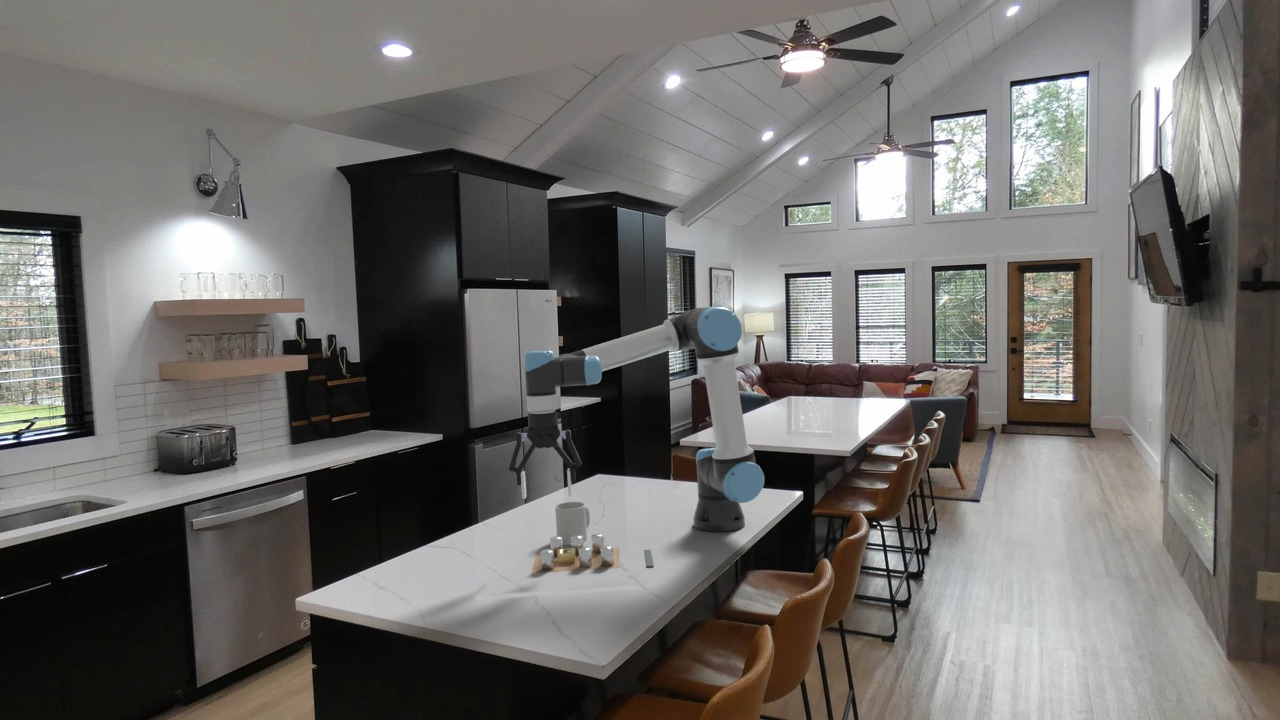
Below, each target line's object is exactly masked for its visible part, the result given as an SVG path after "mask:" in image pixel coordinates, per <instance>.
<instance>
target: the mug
mask: <svg viewBox="0 0 1280 720" xmlns="http://www.w3.org/2000/svg"><path fill="white" fill-rule="evenodd" d="M554 512H555V523H556V524H555V525H556V536H561V537H562V544H563V546H571V536H573V535H582V536H583V544H584V543H586V542H588V528H589V525H590V521H591V515H590V511H589V508H588V507H587V506H586V504H585V503H584V502H581V501H569V502H568V501H567V502H562V503H559V504H557V505H555V511H554Z"/></svg>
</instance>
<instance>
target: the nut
mask: <svg viewBox="0 0 1280 720" xmlns="http://www.w3.org/2000/svg"><path fill="white" fill-rule="evenodd" d="M557 555H558V564H569V563H575V562H576V548H563V549H559V550H558V554H557Z"/></svg>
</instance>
